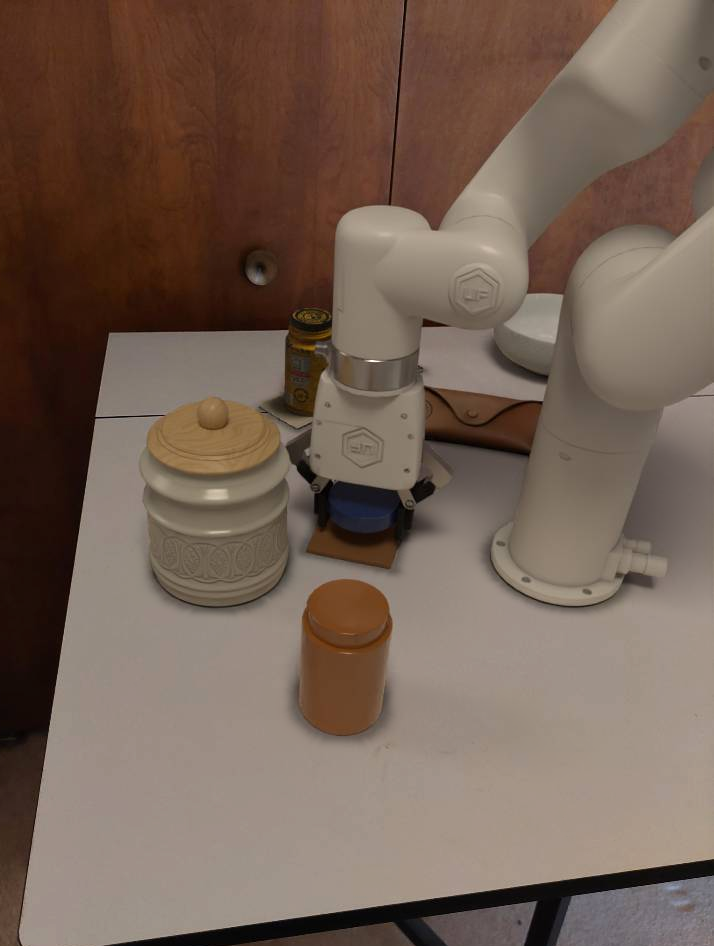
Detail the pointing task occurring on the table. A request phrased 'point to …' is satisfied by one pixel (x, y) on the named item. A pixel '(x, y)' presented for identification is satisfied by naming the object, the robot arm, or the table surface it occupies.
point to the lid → (362, 507)
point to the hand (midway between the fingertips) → (362, 525)
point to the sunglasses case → (481, 419)
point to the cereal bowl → (532, 332)
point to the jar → (216, 502)
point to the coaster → (354, 545)
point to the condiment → (301, 366)
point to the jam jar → (344, 656)
